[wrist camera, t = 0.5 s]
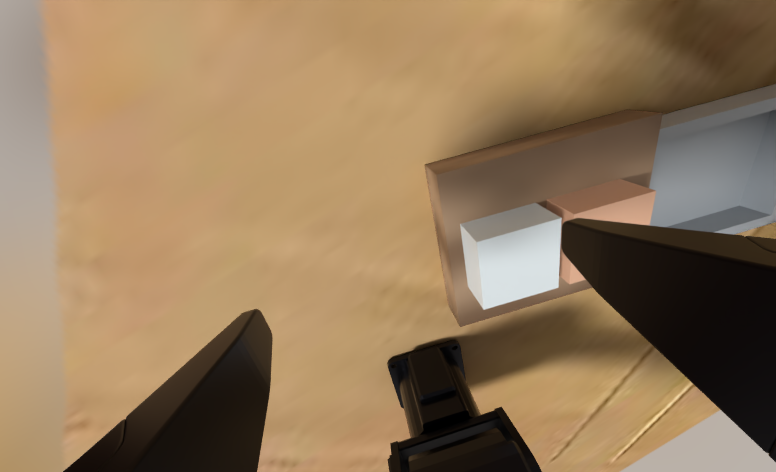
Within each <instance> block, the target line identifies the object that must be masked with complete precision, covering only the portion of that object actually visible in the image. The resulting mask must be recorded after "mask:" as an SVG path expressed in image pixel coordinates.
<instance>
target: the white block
mask: <svg viewBox="0 0 776 472" xmlns="http://www.w3.org/2000/svg"><path fill="white" fill-rule="evenodd" d="M561 220H562V218H561V217H559V216H557V215H556V214H554V213H552V212H551V211H549V210H547V209H545V208H544V207H542V206H540V205H539V204H537V203H533V204H529V205H526V206H522V207H518V208H515V209H511V210H508V211H504V212H501V213H497V214H494V215H490V216H487V217H483V218H480V219H476V220H472V221H469V222H465V223H462V224H460V227H461V235H462V243H463V251H464V259H465V266H466V274H467V282H468V287H469V289H470V290H471V292H472V293H473V295H474V296H475V298H476V299H477V301H478V302H479V304H480V305H481V307H482V308H483V309H484V310H485V309H488V308H492V307H495V306H498V305H502V304H505V303H509V302H512V301H515V300H519V299H522V298H525V297H529V296H532V295H536V294H539V293H542V292H546V291H549V290H552V289H556V288H558V287H559V265H560V242H561Z"/></svg>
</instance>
